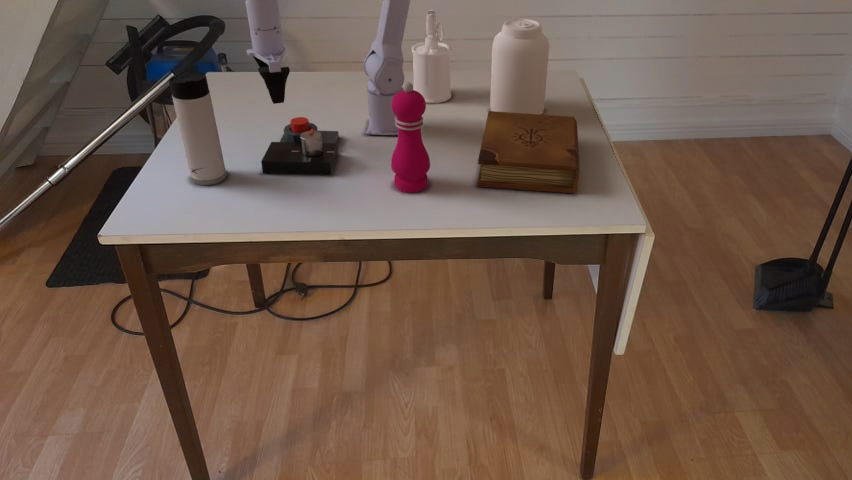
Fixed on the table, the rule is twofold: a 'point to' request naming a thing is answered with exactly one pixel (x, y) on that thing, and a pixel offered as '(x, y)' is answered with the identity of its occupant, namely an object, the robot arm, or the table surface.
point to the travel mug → (198, 128)
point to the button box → (295, 137)
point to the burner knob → (311, 143)
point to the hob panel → (298, 159)
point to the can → (519, 68)
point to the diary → (529, 152)
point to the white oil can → (432, 64)
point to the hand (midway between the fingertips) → (275, 95)
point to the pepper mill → (409, 141)
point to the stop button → (299, 125)
